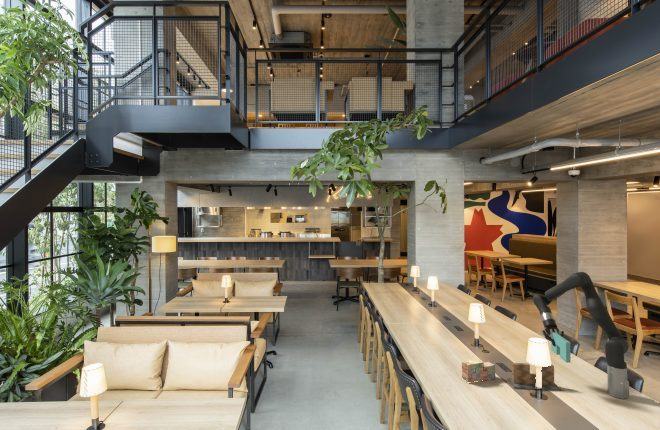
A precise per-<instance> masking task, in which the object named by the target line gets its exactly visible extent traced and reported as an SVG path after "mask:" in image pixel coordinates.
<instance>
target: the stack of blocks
mask: <svg viewBox="0 0 660 430" xmlns="http://www.w3.org/2000/svg"><path fill="white" fill-rule="evenodd" d="M462 378H463V379H464V380H466V381H467V382H474V381H481V382H485V381H484V380H486V381H491V380H496V365H495V364H493V363H492V362H490V361H484V362H483V361H482V360H479V359H478V358H476V359H469V360H462V361H461V379H462ZM482 380H483V381H482ZM467 382H466V383H467Z"/></svg>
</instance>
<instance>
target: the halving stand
mask: <svg viewBox="0 0 660 430" xmlns="http://www.w3.org/2000/svg"><path fill="white" fill-rule="evenodd" d="M511 368H512V369H511V372H512V373H511V375H512V376H511V377H512V378H506V379H507V382H508V383H509V384H510V385H511V387H512V388H513V390H514V389H515V390H517V389H518V390H534V389H535V383H536V379H535V377H536V373H531V365H530V363H527V362H525V363H523V362H511ZM541 372H542V390H541V391H554V392H555V391H557V392H560V391H561V388H560V387H559V386H558V385H557V384H556V383H555V365H553V364H551V366H548V367H542V370H541Z"/></svg>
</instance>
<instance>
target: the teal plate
mask: <svg viewBox="0 0 660 430" xmlns="http://www.w3.org/2000/svg"><path fill="white" fill-rule="evenodd" d="M552 334H553V338H554V341H555V344H556V346H553V345H552V342H551V341H550V351H551V352H552V353H554V354H555V355H558V356H559V358H560V359H561V360H563V361H564V362H565V363H571V361H572V360H571V342H570V340H567V339H566V338H564V336H563V337H561V336H560V334H559V333H558V334H557V333H555V332H553V333H552Z"/></svg>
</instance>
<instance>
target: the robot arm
mask: <svg viewBox="0 0 660 430" xmlns="http://www.w3.org/2000/svg"><path fill="white" fill-rule="evenodd" d="M577 288H581V290H582V292H583V294H584V297H585V302H586V303H585V304H586V309H587V312H588V313H589V315H590V316H591V318H592V320H593V321H594V322H595V324H597V325H598V326H599V327H600V328H601V329H602V331H603V332H604V334H605V335H606V337H607V341H606V342H605V345H604V351H605V352H604V353H605V361H606V363H607V364H606V366H607V367H606V368H607V370H606V372H607V373H606V374H607V376H606V378H607V379H606V380H607V394H608V395H609V396H611V397H613V398H618V399H621V400H626V399H628V398H630V381H629V380H628V364H627V362H626V361H625V354H626V353H627V352H628V351H629V345H628V343H627V341H626V340H625V338H624V337H623V335H622V334H621V333H620V331H619V329H618V328H617V326H616V324H615V322H614V321H613V319H612V317H611V315H610V313H609V312H608V309H607V308H606V305H605V304H604V302H603V301H602V299H601V297H600V296H599V294H598V292H597V291H596V287H595V285H594V283H593V281H592V279H591V277H590V275H589V274H588V273H587V272H585V271H577V272H574V273H572V274H570V275H569V276H568V277H567V278H566V279H565V280H563V281H562V282H560V283H558V284H556V285H554V286H553V287H551V288H548V290H546V291H545V292H544V295H543V294H540V293H535V294H534V295H533V296H532V301H533V304H534V305H535V307H536V308H537V310H538V311H539V314H540V317H541V322H542V324H543V328H544V330H543V329H542V331H541V334H542V335H543V336H544V337H545V338H546V340H547V341H550V343H551V342H552V345H553V346H556V344H555V341H554V338H553V334H552V333H553V332H555V333H557V334H559V335H560V336H561V337H563V338H564V333H565V331H564V330H560V329H559V328H558V325H557V322H556V319H555V317H554V315H553V313H552V310H551V308H550V306H549V305H550V304H551V303H552V302H553V301H554V300H556V299H558V298H560V297H561V296H563V295H565V294H566V293H567V292H568V291H571V290H574V289H577Z"/></svg>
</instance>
